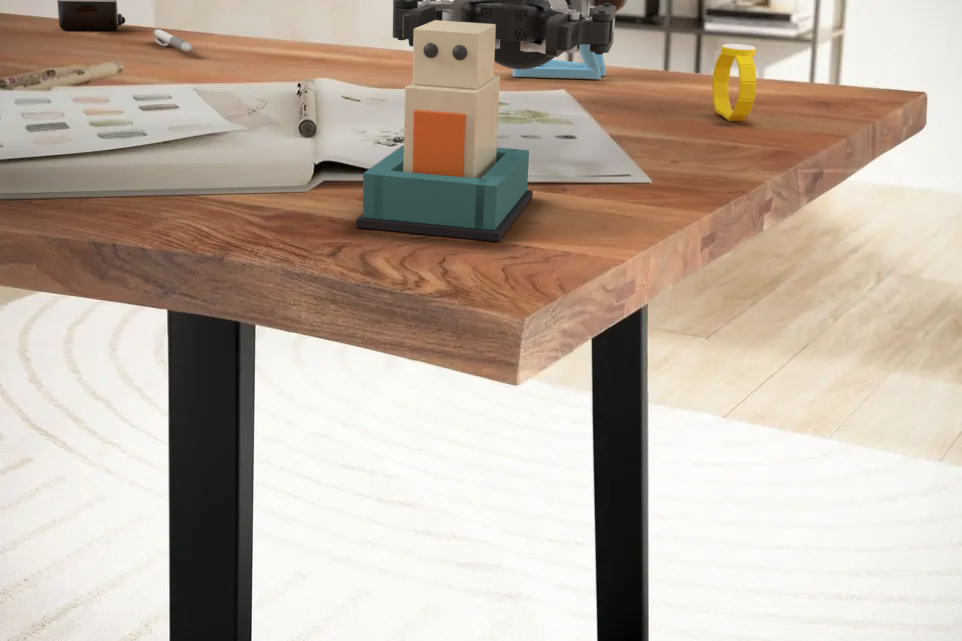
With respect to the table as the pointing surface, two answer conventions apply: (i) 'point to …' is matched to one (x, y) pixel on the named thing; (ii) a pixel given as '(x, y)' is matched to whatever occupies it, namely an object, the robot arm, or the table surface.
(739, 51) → the watch
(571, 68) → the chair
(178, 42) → the pen
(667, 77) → the table surface
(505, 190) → the box
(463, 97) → the toy robot
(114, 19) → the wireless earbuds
